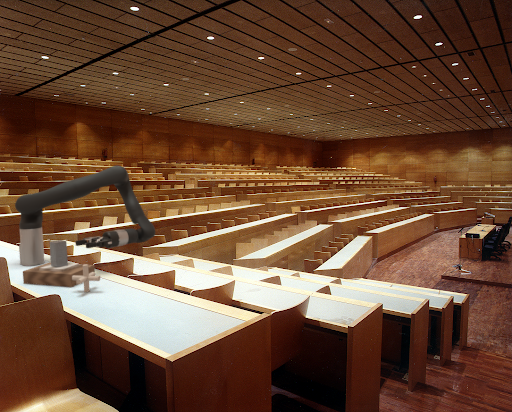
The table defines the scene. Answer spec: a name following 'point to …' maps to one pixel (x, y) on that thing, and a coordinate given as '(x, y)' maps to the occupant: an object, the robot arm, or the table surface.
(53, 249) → the block
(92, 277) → the pipe connector
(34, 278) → the brown wooden block
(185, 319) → the table surface
